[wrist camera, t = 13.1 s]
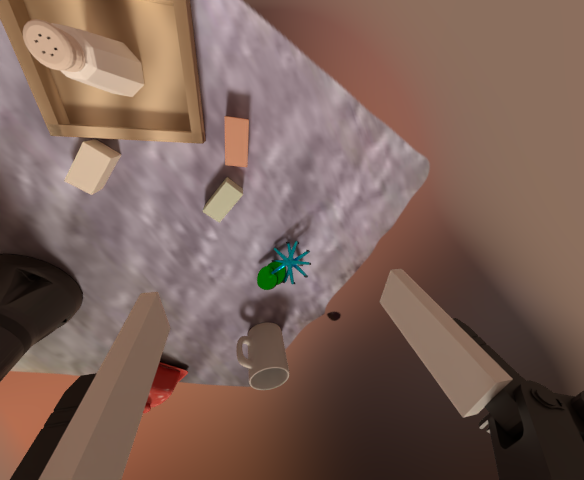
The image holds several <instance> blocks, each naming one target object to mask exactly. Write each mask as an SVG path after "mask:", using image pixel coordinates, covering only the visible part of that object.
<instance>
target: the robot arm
mask: <svg viewBox="0 0 584 480" xmlns="http://www.w3.org/2000/svg"><path fill="white" fill-rule="evenodd" d="M380 303H381V304H382V306H383V307H384V309H385V310H386V312H387V313H388V314H389V316H390V317H391V319H392V320H393V321H394V323H395V324H396V325H397V327H398V328H399V330H400V331H401V332H402V334H403V335H404V337H405V338H406V339H407V341H408V342H409V344H410V345H411V346H412V348H413V349H414V350H415V352H416V353H417V355H418V356H419V357H420V358H421V360H422V362H423V363H424V364H425V366H426V367H427V368H428V370H429V371H430V372H431V374H432V375H433V377H434V378H435V380H436V381H437V382H438V384H439V385H440V387H441V388H442V389H443V391H444V392H445V393H446V395H447V396H448V398H449V399H450V400H451V402H452V403H453V404H454V406H455V407H456V409H457V410H458V411H459V413H460V414H461V416H462V417H467V416H471V415H475V414H478V413H479V412H480V411H481V410H482V409H483V408H484V407H485V408H486V409H487V410H488V411H489V414H488V415H487V416H485V417H484V418H483V420H481V421H480V423H479V428H481V429H483V428H484V427H485V426H486V425H487V424H489V428H488V429H487V432H488V433H490V434H491V439H492V445H493V450H494V455H495V460H496V465H497V471H498V476H499V480H584V391H582V392H581V393H579V394H578V395H577V396H568V395H563V394H557V393H553V392H552V391H550V390H549V389H548V388H546V387H544V386H543V385H541V384H539V383H536V382H533V381H526V380H525V379H524V378H522V377H521V376H520V375H519V374H518V373H517V372H516V371H515V370H514V369H513V368H512V367H510V366H509V365H508V364H507V363H506V362H505V361H504V360H503V359H502V358H501V357H500V356H499V355H498V354H497V353H496V352H495V351H494V350H493V349H491V348H490V347H489V346H488V345H486V343H485V342H484V341H483V340H482V339H481V338H480V337H478V335H477V334H476V333H475V332H474V331H473V330H472V329H471V328H470V327H468V326H467V325H466V324H464V323H463V322H461V321H460V320H458V319H456V318H454V319H452V318H451V317H450V316H449V315H448V314H447V313H446V312H445V311H444V310H443V309H442V308H441V307H439V305H438V304H437V303H436V302H434V300H432V298H430V296H429V295H427V294H426V293H425V292H424V291H423V290H422V289H421V288H420V287H419V286H418V285H417V284H416V283H415V282H414V281H413V280H412V279H411V278H410V277H409V276H408V275H407V274H406V273H405V272H404V271H403V270H402V269H396V270H391V271H390V274H389V277H388V280H387V282H386V285H385V288H384V291H383V294H382V297H381V300H380ZM81 304H82V293H81V290H80V288H79V286H78V285H77V283H76V282H75V281H74V280H73V279H72V278H71V277H70V276H69V275H67V274H66V273H65V272H63V271H62V270H60V269H58V268H56V267H55V266H53V265H50V264H48V263H46V262H43V261H40V260H37V259H34V258H30V257H25V256H20V255H10V254H0V381H1V380H2V379H3V378H4V377H5V376H6V375H7V373H8V372H9V371H10V370H11V369H12V368H13V367H14V365H15V364H16V363H17V362H18V361H19V360H20V359H21V357H22V356H23V355H24V354H25V353H26V352H27V351H28V350H29V348H30V347H31V346H33V345H34V344H36V343H37V342H39V341H40V340H42V339H43V338H45V337H46V336H48V335H49V334H50V333H52V332H53V331H55V330H56V329H57V328H59V327H61V326H62V325H64V324H65V323H67V322H68V321H69V320H70V319H71V318H72V317H73V316H74V314H75V313H76V312H77V311H78V309H79V308H80V306H81ZM169 331H170V325H169V322H168V320H167V317H166V314H165V311H164V308H163V305H162V302H161V300H160V297H159V294H158V292H151V293H141V294H140V296H139V298H138V300H137V301H136V303H135V305H134V307H133V309H132V310H131V312H130V314H129V316H128V318H127V320H126V321H125V323H124V325H123V327H122V329H121V331H120V332H119V334H118V336H117V338H116V340H115V341H114V343H113V345H112V347H111V349H110V351H109V352H108V354H107V356H106V358H105V360H104V361H103V363H102V365H101V367H100V369H99V371H98V372H97V373H96V374H89V375H83V376H80V377H79V378H78V379H77V380H76V381H75V382H74V383H73V384H72V385H71V386H70V387H69V388H68V389H67V390H66V391H65V393H64V394H63V396H62V397H61V399H60V401H59V402H58V404H57V405H56V407H55V409H54V412H53V413H51V415H50V417H49V418H48V420H47V421H46V423H45V425H44V428H43V429H41V431H40V432H39V434H38V436H37V437H36V439H35V440H34V442H33V444H32V445H31V447H30V448H29V450H28V452H27V453H26V455H25V456H24V458H23V460H22V461H21V463H20V464H19V466H18V467H17V469H16V471H15V472H14V474H13V476H12V477H11V479H10V480H121V479H122V475H123V472H124V469H125V466H126V463H127V460H128V457H129V454H130V451H131V448H132V445H133V442H134V438H135V436H136V432H137V429H138V426H139V423H140V420H141V417H142V414H143V411H144V408H145V405H146V402H147V399H148V396H149V393H150V389H151V386H152V383H153V380H154V377H155V374H156V371H157V368H158V365H159V362H160V359H161V356H162V353H163V350H164V346H165V343H166V340H167V337H168V334H169Z"/></svg>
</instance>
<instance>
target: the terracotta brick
mask: <svg viewBox="0 0 584 480" xmlns="http://www.w3.org/2000/svg"><path fill="white" fill-rule="evenodd" d="M248 129H249V120H248V119H243V118H236V117H230V116H225V165H229V166H239V167H247V158H248Z"/></svg>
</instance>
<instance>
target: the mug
mask: <svg viewBox="0 0 584 480" xmlns="http://www.w3.org/2000/svg"><path fill="white" fill-rule="evenodd" d="M243 343H245V344H247V345H248V359H247V358H245V357H244V355H243V352H242V344H243ZM237 358H238V361H239V363H240V364H241V365H242V366H244V367H247V368H249V383H250V385H251V386H252V387H253V388H255V389H258V390H268V389H273V388H276V387H278V386H280V385H282V384H283V383H285V382H286V381H287V379H288V377H289V370H288V364H287V359H286V353H285V348H284V342H283V336H282V331H281V328H280V327H279V326H278V325H277V324H274V323H269V322H266V323H261V324H258V325H256V326H254V327H253V328H251V329H250V331H249V332H248V336H242V337H241V338H240V339H239V340H238V343H237Z"/></svg>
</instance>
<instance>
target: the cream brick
mask: <svg viewBox="0 0 584 480" xmlns="http://www.w3.org/2000/svg"><path fill="white" fill-rule="evenodd" d="M120 156H121V154H119V153H118V152H116V151H115V150H113V149H111V148H110V147H108V146H106V145H105V144H103V143H102V142H100V141H98V140H97V139H94V140H89V141H84V142H83V143H82V145H81V147H80V149H79V151H78V153H77V155H76V157H75V160H74V162H73V164H72V166H71V168H70V170H69V172H68V174H67V176H66V178H65V180H64V181H65V182H67V183H69V184H71V185H73V186H75V187H77V188H79V189H81V190H83V191H85V192H87V193H89V194H91V195H92V194H94V193H96V192H98V191H99V190H101V189H103V187H104V185H105V184H106V182H107V180H108V178H109V176H110V175H111V173H112V171H113V169H114V167H115V165H116V164H117V162H118V160H119V158H120Z"/></svg>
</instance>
